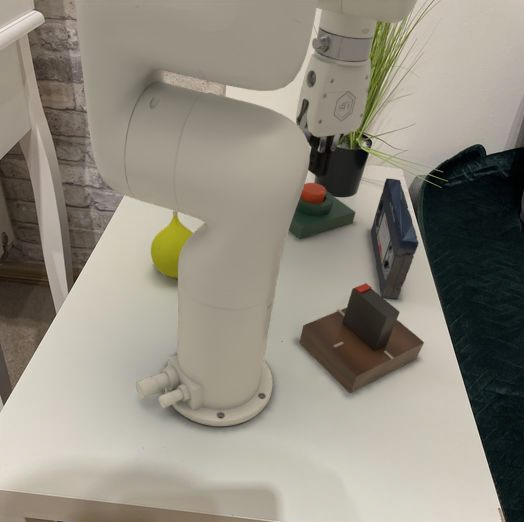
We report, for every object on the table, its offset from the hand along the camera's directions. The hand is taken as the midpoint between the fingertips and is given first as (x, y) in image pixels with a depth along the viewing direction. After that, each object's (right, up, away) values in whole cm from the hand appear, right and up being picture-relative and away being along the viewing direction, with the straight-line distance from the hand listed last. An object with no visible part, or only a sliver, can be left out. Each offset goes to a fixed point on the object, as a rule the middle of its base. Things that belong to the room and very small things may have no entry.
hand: (316, 172), depth 85 cm
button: (0, -3, +4) cm, 5 cm away
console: (+4, -29, -16) cm, 33 cm away
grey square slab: (+4, -27, -18) cm, 33 cm away
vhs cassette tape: (+10, -15, -1) cm, 18 cm away
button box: (-1, -6, +6) cm, 8 cm away
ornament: (-21, -18, -9) cm, 29 cm away
